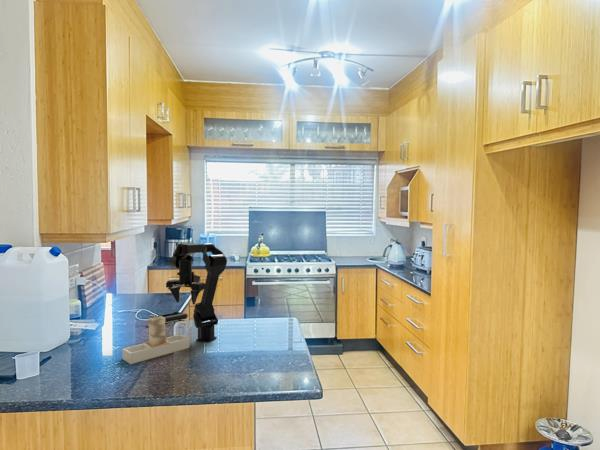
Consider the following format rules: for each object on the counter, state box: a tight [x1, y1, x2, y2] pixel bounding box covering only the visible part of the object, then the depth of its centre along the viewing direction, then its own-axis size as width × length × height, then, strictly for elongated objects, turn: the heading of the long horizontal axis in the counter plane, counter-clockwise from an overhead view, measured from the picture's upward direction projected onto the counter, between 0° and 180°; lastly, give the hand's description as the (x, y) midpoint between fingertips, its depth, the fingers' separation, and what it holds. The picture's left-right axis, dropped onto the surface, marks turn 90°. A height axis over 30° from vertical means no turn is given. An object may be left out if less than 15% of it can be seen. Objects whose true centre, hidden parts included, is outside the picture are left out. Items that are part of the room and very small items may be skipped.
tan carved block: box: [148, 315, 167, 347], centre depth 157 cm, size 5×4×13 cm
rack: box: [121, 333, 190, 365], centre depth 157 cm, size 24×7×4 cm, turn 136°
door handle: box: [148, 310, 189, 324], centre depth 203 cm, size 3×20×16 cm
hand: (185, 303), depth 184 cm, fingers open, 9 cm apart
